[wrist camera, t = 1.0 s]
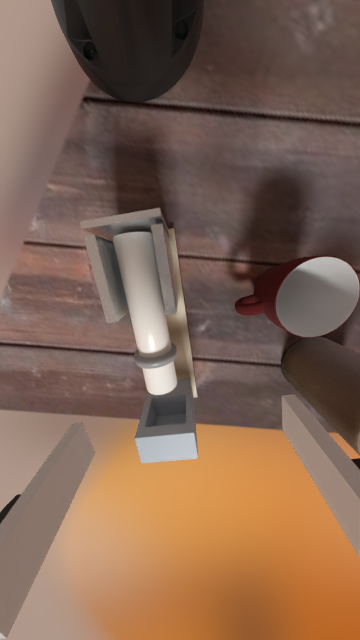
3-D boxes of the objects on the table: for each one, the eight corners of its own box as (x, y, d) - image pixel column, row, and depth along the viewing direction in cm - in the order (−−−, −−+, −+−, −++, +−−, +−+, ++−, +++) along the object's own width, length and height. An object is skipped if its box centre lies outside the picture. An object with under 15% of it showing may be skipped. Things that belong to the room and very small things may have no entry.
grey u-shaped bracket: (119, 239, 24) (79, 221, 15) (168, 231, 24) (159, 207, 15) (133, 304, 27) (106, 323, 18) (178, 297, 27) (176, 313, 17)
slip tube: (117, 243, 21) (96, 236, 16) (160, 236, 21) (153, 226, 16) (146, 375, 26) (138, 400, 21) (182, 371, 26) (181, 395, 21)
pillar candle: (289, 393, 32) (378, 497, 17) (273, 348, 29) (363, 425, 15) (344, 374, 31) (489, 467, 16) (332, 325, 28) (491, 384, 14)
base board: (115, 238, 25) (113, 237, 24) (174, 229, 25) (173, 228, 24) (151, 399, 33) (151, 402, 32) (197, 394, 32) (197, 397, 31)
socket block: (150, 382, 31) (134, 438, 21) (190, 378, 30) (194, 432, 20) (154, 401, 32) (141, 463, 22) (193, 397, 31) (198, 458, 21)
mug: (238, 329, 29) (265, 359, 19) (218, 283, 27) (238, 292, 17) (303, 300, 27) (368, 317, 18) (287, 250, 25) (351, 238, 16)
